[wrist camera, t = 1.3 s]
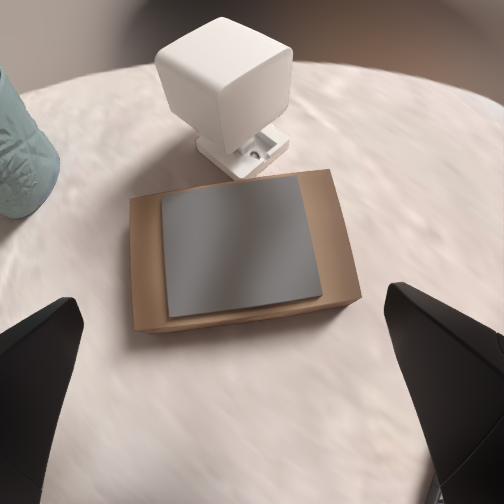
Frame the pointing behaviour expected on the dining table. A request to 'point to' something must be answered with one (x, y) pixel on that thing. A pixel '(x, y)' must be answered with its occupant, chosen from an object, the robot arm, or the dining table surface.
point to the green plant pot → (23, 157)
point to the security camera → (229, 93)
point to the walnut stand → (239, 252)
